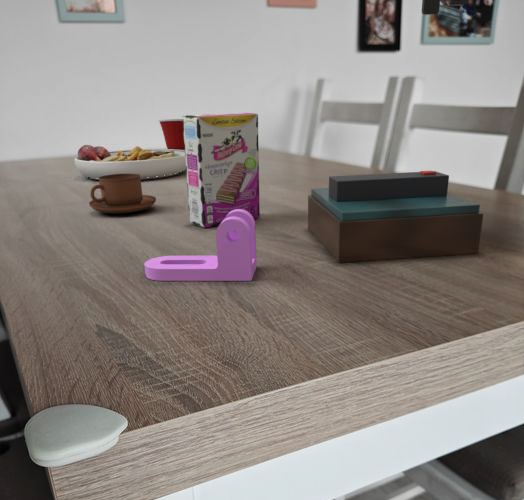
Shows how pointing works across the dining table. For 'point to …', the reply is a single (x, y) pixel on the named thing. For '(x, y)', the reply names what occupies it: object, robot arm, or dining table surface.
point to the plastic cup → (173, 133)
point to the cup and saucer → (120, 194)
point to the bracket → (214, 267)
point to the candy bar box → (221, 166)
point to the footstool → (394, 226)
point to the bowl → (130, 162)
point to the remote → (388, 186)
